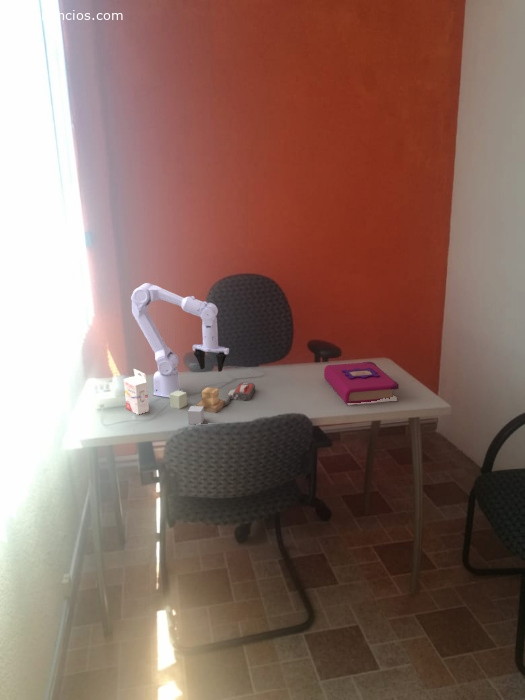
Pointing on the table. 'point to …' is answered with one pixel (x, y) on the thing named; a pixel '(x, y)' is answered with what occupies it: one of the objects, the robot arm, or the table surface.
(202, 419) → the slate block
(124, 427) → the table surface
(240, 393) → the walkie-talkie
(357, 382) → the book
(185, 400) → the sage block
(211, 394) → the oak block
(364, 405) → the table surface
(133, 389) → the ink cartridge box
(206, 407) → the tan flat block
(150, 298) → the robot arm
